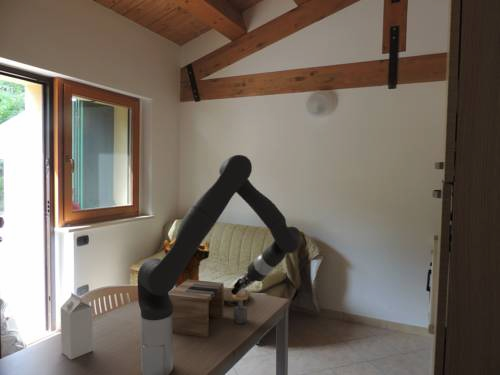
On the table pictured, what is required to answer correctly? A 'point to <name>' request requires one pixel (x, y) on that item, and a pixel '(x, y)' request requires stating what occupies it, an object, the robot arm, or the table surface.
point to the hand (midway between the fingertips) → (236, 291)
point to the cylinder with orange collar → (240, 307)
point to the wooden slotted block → (196, 306)
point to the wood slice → (229, 298)
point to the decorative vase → (191, 262)
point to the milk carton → (76, 327)
